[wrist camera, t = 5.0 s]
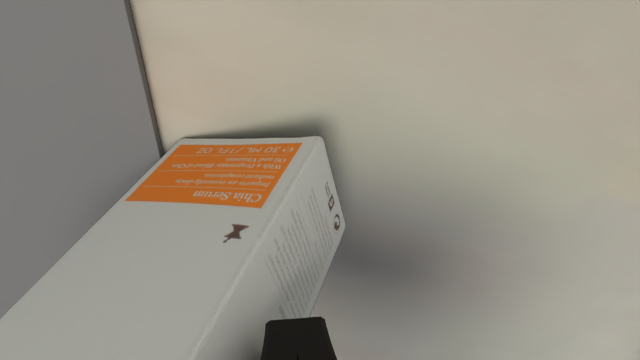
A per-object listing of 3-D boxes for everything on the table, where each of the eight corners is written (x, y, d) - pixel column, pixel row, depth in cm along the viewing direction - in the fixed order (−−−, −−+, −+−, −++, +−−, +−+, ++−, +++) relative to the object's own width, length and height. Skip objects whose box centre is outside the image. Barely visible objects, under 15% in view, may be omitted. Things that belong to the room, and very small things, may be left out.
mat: (207, 348, 24) (206, 356, 24) (14, 363, 23) (10, 372, 23) (70, -261, 10) (61, -266, 10) (-412, -278, 10) (-442, -285, 9)
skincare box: (324, 128, 14) (43, 624, 6) (349, 224, 17) (179, 672, 8) (174, 133, 17) (-185, 491, 8) (215, 217, 19) (-27, 560, 11)
